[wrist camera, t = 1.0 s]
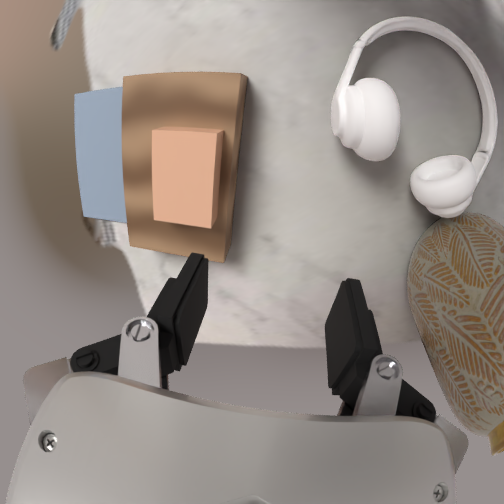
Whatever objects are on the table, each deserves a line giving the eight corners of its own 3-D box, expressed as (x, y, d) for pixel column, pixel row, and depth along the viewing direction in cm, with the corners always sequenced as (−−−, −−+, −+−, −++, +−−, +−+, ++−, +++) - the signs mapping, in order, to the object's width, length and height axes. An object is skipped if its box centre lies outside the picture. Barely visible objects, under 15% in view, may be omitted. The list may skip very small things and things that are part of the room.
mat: (76, 94, 25) (74, 94, 25) (137, 85, 24) (136, 85, 24) (85, 215, 35) (83, 216, 34) (140, 223, 34) (139, 224, 34)
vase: (506, 240, 27) (596, 373, 5) (439, 316, 36) (486, 463, 14) (451, 172, 25) (612, 337, 2) (372, 274, 34) (418, 484, 11)
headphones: (434, 217, 28) (495, 100, 19) (468, 245, 21) (535, 105, 12) (303, 123, 25) (381, -4, 16) (313, 123, 18) (408, -31, 9)
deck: (142, 77, 24) (123, 76, 20) (247, 76, 23) (241, 73, 20) (144, 230, 35) (130, 246, 31) (230, 244, 34) (223, 262, 31)
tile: (163, 126, 23) (152, 130, 21) (223, 129, 23) (217, 133, 21) (163, 209, 28) (153, 219, 26) (217, 217, 28) (211, 228, 26)
